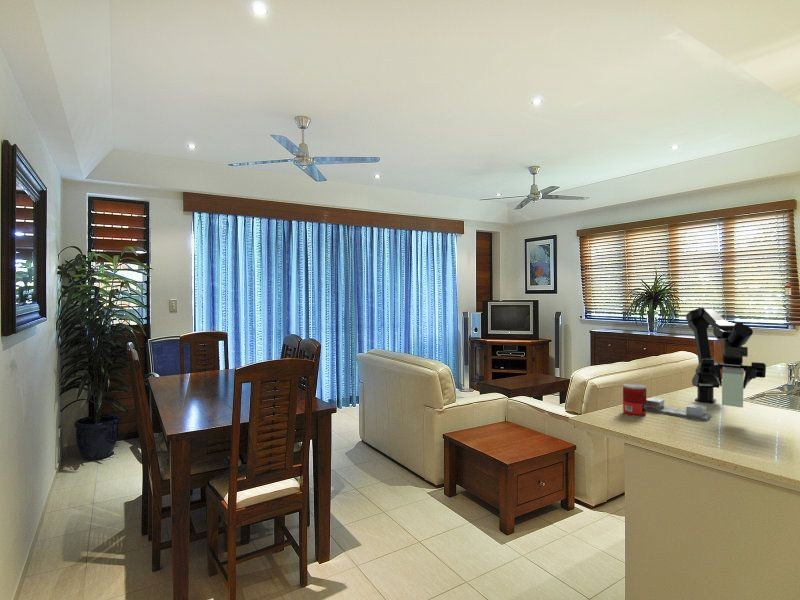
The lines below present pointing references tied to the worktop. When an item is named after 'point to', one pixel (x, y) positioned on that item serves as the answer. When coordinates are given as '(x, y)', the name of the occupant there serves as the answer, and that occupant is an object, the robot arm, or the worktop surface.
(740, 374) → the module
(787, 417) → the worktop surface
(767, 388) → the worktop surface
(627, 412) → the canned food
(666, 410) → the rail
